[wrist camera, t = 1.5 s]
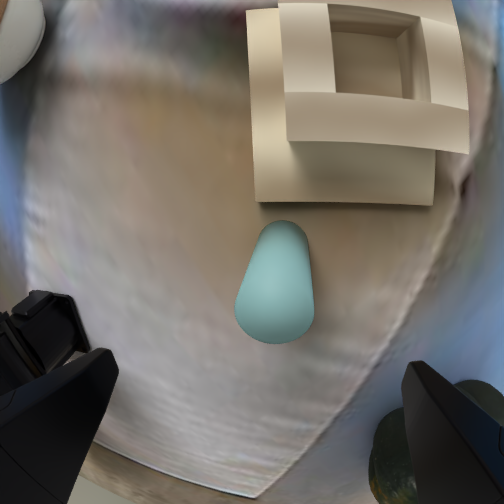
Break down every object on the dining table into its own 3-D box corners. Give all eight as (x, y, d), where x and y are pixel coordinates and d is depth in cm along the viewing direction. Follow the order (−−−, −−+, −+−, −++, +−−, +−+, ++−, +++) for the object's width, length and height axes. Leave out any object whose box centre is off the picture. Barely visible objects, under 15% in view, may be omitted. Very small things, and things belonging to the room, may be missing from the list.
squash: (384, 406, 16) (382, 572, 9) (539, 351, 14) (537, 502, 7) (357, 402, 29) (361, 515, 22) (470, 372, 26) (474, 480, 19)
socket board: (426, 202, 17) (463, 223, 12) (257, 198, 18) (244, 219, 14) (417, 20, 12) (449, -7, 8) (248, 10, 14) (232, -27, 9)
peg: (307, 267, 20) (311, 344, 12) (258, 267, 20) (237, 342, 13) (308, 220, 18) (316, 276, 11) (256, 220, 19) (231, 275, 11)
